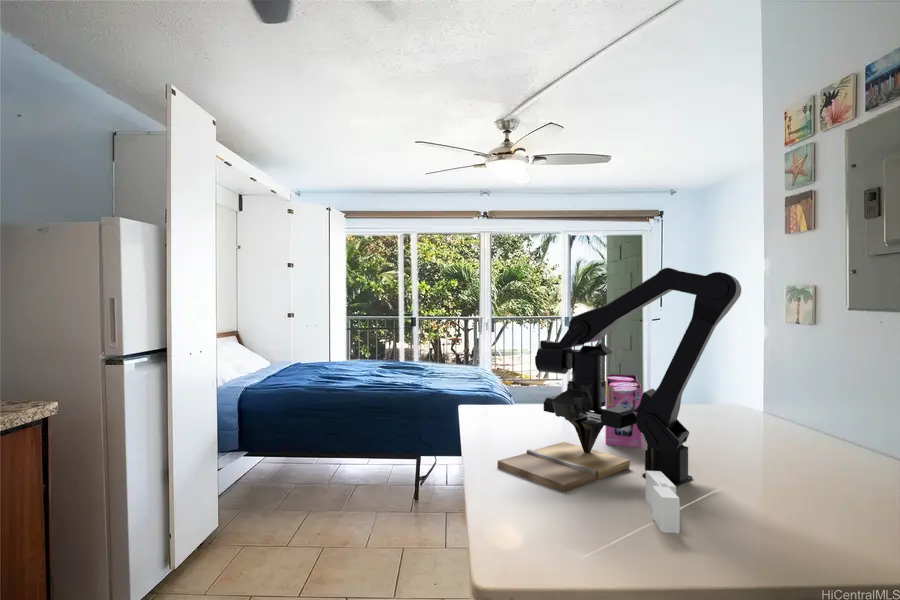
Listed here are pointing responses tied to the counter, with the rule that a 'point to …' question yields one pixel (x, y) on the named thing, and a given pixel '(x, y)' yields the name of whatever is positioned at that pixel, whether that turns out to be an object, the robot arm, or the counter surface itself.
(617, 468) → the oak plank
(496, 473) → the counter surface
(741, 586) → the counter surface
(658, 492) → the napkin holder
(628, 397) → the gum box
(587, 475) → the walnut board
